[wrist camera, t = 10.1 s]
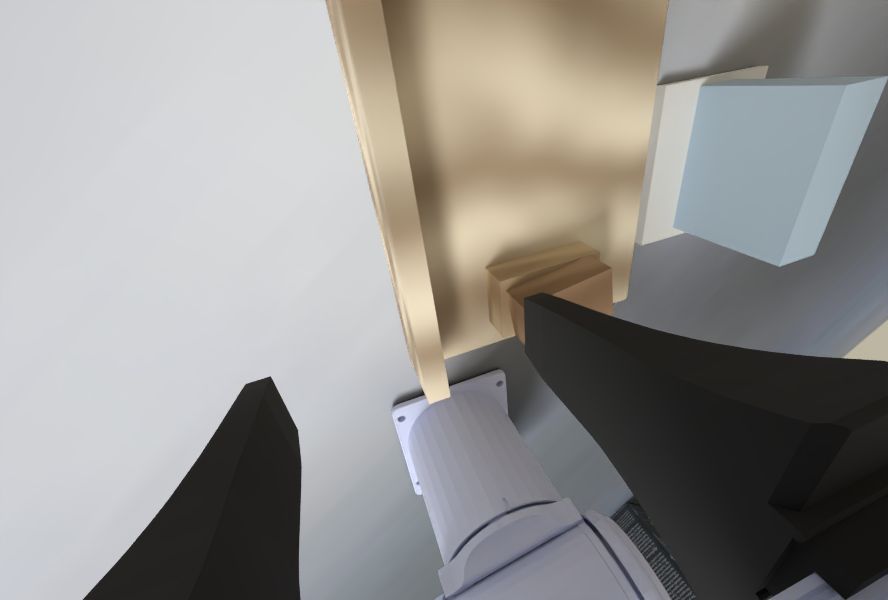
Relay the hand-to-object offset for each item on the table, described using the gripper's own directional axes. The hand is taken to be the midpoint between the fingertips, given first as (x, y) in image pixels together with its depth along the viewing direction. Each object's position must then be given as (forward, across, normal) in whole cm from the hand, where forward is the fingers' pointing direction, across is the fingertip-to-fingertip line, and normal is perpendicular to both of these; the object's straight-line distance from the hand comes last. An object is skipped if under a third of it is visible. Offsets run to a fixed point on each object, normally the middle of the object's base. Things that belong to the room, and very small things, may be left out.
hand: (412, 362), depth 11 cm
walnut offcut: (+7, -9, +4) cm, 12 cm away
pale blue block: (+9, -20, 0) cm, 23 cm away
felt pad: (+10, -20, 0) cm, 23 cm away
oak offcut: (+9, -9, +4) cm, 13 cm away
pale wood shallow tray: (+10, -8, -2) cm, 13 cm away
